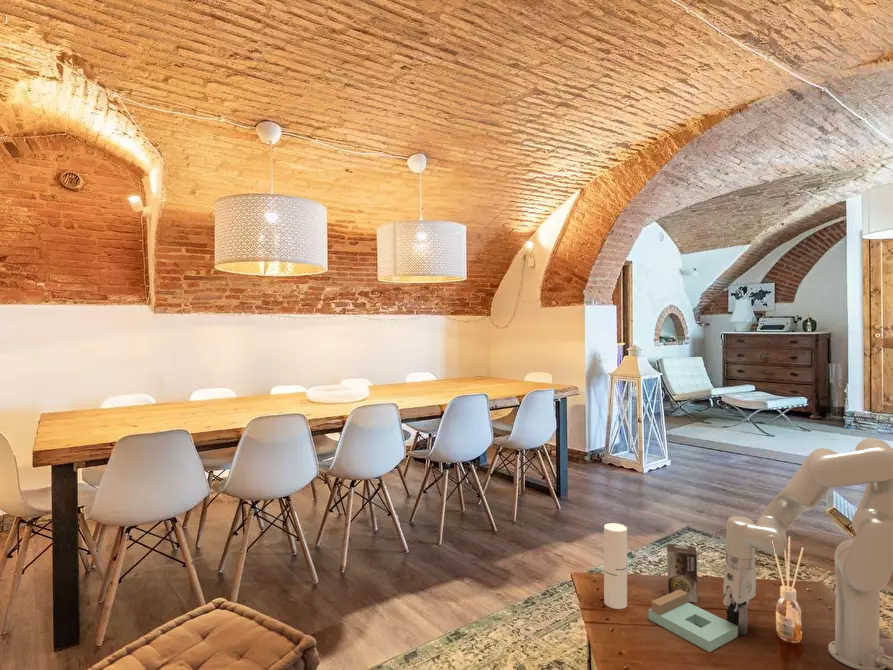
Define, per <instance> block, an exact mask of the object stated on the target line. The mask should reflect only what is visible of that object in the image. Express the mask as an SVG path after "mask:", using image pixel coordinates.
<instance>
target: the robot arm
mask: <svg viewBox="0 0 893 670" xmlns="http://www.w3.org/2000/svg"><path fill="white" fill-rule="evenodd" d="M865 484H866V487H865V489H864V490H865V491H864V492H863V495H862V497H861V499H860V502H859V504H858V506H857V508H856V510H855V511H854V512H855V513H854V514H853V516H852V520H851V525H852V528H853V531H854V532H855V536H854V538H853V539H852V538H851V539H846V540H843V541H841V542H840V543H838V545H837V547H836V549H835V550H834V568H835V569H834V570H835V571H834V572H835V618H834V619H835V628H834V630H835V633H834V639H835V640H832V641H830V642H829V643H828V645H827V648H828V649H827V650H828V652H829V655H831V656H832V658H834V659H835V660H836V661H838V662H840V663H841V664H843V665H846V667H850V668H853V669H855V670H883V669H885V668H886V669H887V668H888V669H890V670H893V657H892V656H890V655H888V654H886V653H884V646H881V645H880V606H881V605H880V604H881V593H880V592H881V590H882V589H884V588H885V587H886V586H887V584H888V583H889V580H890V579H891V577H892V575H893V447H891V445H890V444H888V443H887V442H886V441H885V440H882V439H879V438H875V437H868V438H865V439H862V440H861V441H859V442H858V443H857V445H856V447H855V450H854V451H849V452H843V453H836V451H833V450H832V449H829V448H825V447H824V448H816V449H814V450H813V451H811V452H810V453H809V455H808V456H807V457H806V458H805V460H804V461H803V462H802V464H801V465H800V466H799V467H798V469H797V471H796V472H795V474H794V475H793V477H791V478H790V480H789V481H788V483H787V484H786V486H784V488H783V489H782V490H781V491H780V492H779V493H778V494H777V495H776V496H775V497H774V499H772V500H771V502H770V503H769V504H768V506H767V507H766V508H765V510H764V511H763V512H762V514H761V515H760V516H759V518H758V520H757V522H756V523H755V522H754V521H753V520H752V519H751V518H748V517H745V516H740V515H739V516H738V515H734V516H733V515H732V516H730V517H728V519H727V521H726V538H725V539H726V540H725V561H724V562H725V564H726V565H725V569H724V574H723V575H724V577H723V587H722V595H723V597H724V598H723V600H722V604H723V605H724V606H726V609H727V610H726V621H728V622H730V623H733V624H735V625H738V624H739V612H738V605H739V604H741V603H745V604H747V616H748V613H749V612H748V611H749V606H750V600H752V599H753V598H755V596H756V594H757V593H756V591H757V590H756V588H757V587H756V585H757V583H756V581H757V580H756V577H757V576H756V568H755V553H756V550H760V551H761V552H764V553H768V554H773V555H777V554H781V553H783V552H785V550H786V549H787V546H788V539H787V535H786V533H787V531H788V529H789V528H790V527H791V526H792V524H793V523H794V522H795V521H796V520H797V518H798V517H800V516H801V515H802V514H803V513H806V512H808V511H813V510H814V509H816V508H817V507H818V506H819V504H820V503H821V501H823V499H824V498H825V497H826V495H827V493H828V492H829V491H830V489H831V488H842V487H843V488H844V487H851V486H858V485H865ZM772 540H773V544H774V548H775V553H776V554H775V553H774V548H773V544H772ZM732 602H734V603H735V605H733V604H732ZM886 669H885V670H886Z"/></svg>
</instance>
